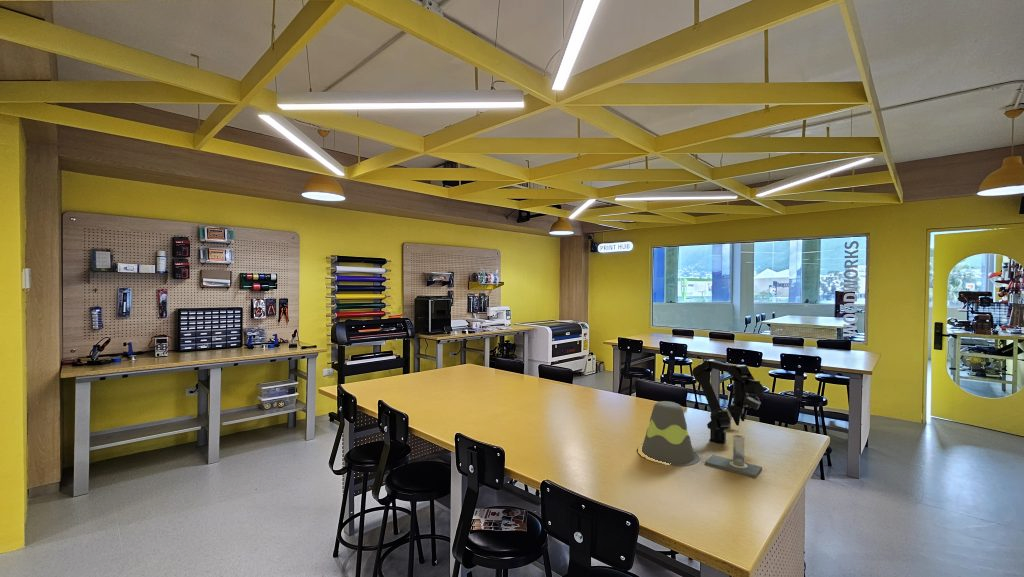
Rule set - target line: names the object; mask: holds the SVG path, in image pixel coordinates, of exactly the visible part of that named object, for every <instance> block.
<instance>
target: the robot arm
mask: <svg viewBox="0 0 1024 577" xmlns="http://www.w3.org/2000/svg"><path fill="white" fill-rule="evenodd" d="M713 369H715V370H718V371H721V372H725V373H727V374H729V375H730V376H731V377H730V378H729V380H730V381H732V382H733V392H732V396H733V400H732V403H731V404H729V405H728V406H727V409H728V411H729V412H730V414H731V416H732V419H733V422H734V423H735V425H736V426H738V427H739V426H740V421H741V422H745V420H746V415H747V412H748V410H750V409H751V408H752V409H753V410H756V411H757V410H758V409H759V408H760V405H761V404H762V402H761V401H760V398H759V396H762V395H763V393H764V387H763V386H764V385H762V384H761V381H760V380H755V378H754V376H753V375H752V373H751V371H750V369H749V367H748V365H746V364H731V363H726V362H722V361H718V360H715V359H712V358H711V359H705V360H704V361H703V362H701V363H700V364H698V365H697V366H695V367H693V368H692V371H691V373H692V376H693V378H694V379H695V381H696V382H697V383H699V385H700V387H701V388H702V389H701V390H702V392H703V394H704V397H705V399H706V401H707V404H708V406H709V409H710V417H709V418H710V421H708V423H707V424H706V425H707V429H708V430H710V432H709V433H710V435H709V436H710V437H709V438H710V439H709V440H708V441H710V442H713V443H717V444H724V443H725V442H727V433H726V430H728V429H729V428H728V426H729V424H730V417H729V416H728V412H727V411H723V410H722V409H723V408H722V407H721V404H720V403H719V400H718V398H717V395H716V393H715V391H714V390H715V389H713V386H712V384H711V377H712V375H711V373H712V372H713ZM749 394H751V395H752V396H753V395H754V396H755V397H751V396H749Z"/></svg>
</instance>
